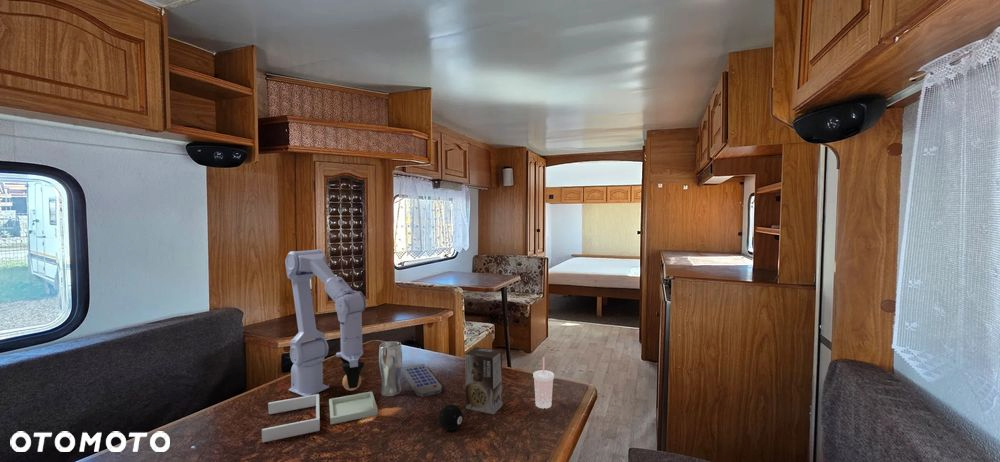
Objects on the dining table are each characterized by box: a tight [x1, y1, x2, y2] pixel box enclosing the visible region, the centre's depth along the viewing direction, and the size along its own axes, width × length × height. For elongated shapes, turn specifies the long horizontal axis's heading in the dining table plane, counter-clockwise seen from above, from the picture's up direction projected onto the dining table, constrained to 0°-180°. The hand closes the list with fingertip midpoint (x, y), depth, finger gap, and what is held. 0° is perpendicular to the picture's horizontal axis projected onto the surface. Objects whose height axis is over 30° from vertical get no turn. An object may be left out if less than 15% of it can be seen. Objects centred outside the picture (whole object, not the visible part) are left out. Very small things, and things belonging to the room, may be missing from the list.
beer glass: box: [378, 340, 403, 398], centre depth 124 cm, size 7×7×15 cm
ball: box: [341, 374, 362, 391], centre depth 113 cm, size 5×5×5 cm
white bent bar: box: [261, 393, 321, 444], centre depth 107 cm, size 13×16×3 cm
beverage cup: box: [532, 356, 555, 409], centre depth 116 cm, size 6×6×14 cm
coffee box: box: [464, 346, 503, 415], centre depth 115 cm, size 9×6×16 cm
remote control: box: [401, 363, 443, 398], centre depth 133 cm, size 8×23×2 cm, turn 26°
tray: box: [328, 390, 379, 425], centre depth 113 cm, size 12×12×2 cm
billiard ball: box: [438, 404, 464, 431], centre depth 103 cm, size 6×6×6 cm
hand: (352, 383), depth 113 cm, fingers closed on ball, 5 cm apart
